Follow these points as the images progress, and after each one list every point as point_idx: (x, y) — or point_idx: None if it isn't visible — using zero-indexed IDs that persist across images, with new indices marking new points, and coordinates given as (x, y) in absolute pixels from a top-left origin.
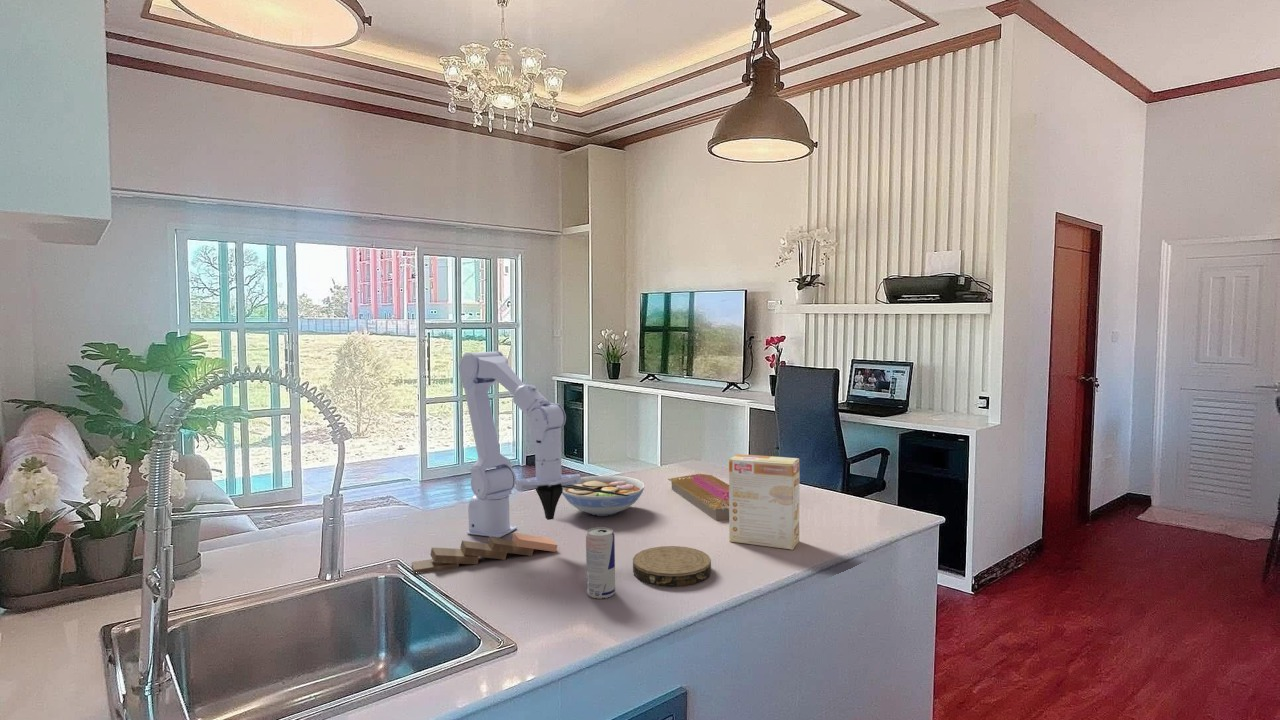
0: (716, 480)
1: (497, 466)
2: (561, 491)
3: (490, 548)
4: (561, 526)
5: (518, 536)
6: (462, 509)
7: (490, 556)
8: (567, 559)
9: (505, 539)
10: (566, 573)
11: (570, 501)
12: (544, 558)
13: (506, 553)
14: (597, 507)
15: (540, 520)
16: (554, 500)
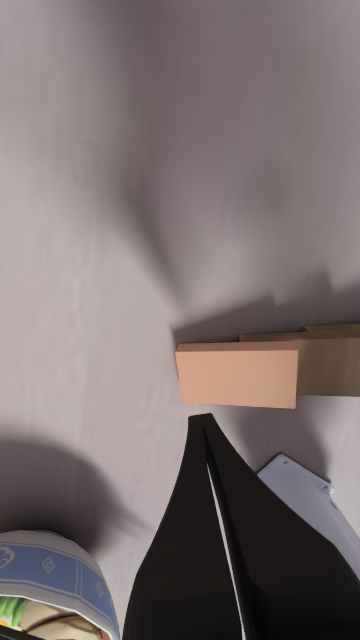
0: None
1: None
2: (142, 593)
3: None
4: (141, 491)
5: (290, 377)
6: None
7: (348, 325)
8: (158, 282)
9: (311, 389)
10: (178, 169)
11: (103, 585)
12: (214, 308)
13: (310, 331)
14: (33, 546)
15: None
16: (197, 497)
